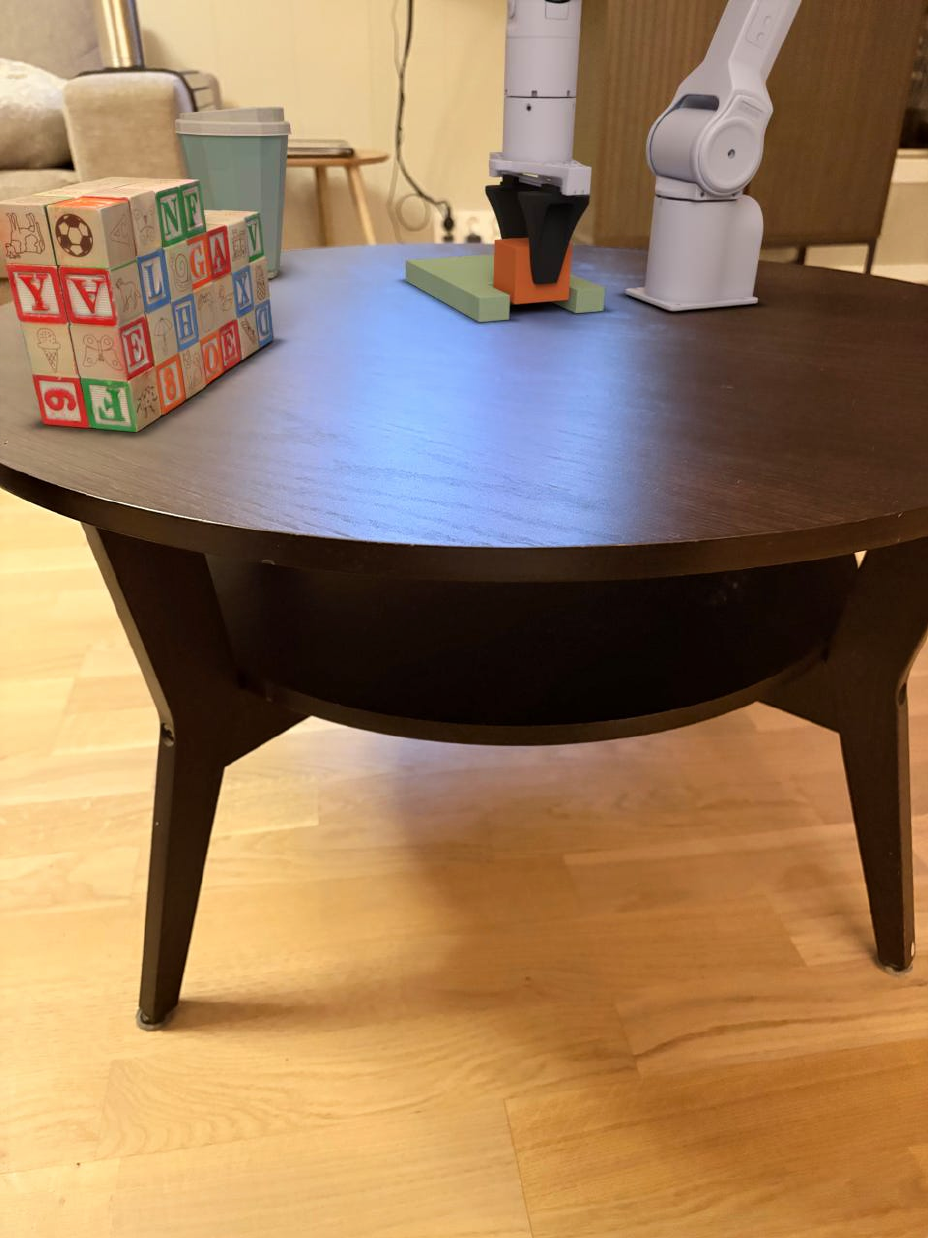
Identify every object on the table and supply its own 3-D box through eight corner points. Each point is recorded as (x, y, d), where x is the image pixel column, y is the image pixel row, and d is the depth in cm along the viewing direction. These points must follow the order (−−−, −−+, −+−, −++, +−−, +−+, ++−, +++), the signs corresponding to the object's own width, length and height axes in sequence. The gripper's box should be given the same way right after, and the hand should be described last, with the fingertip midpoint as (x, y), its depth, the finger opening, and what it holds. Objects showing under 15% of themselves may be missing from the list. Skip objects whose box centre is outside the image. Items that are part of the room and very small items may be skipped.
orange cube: (545, 289, 84) (548, 236, 81) (568, 299, 80) (572, 244, 78) (492, 293, 82) (494, 239, 80) (514, 304, 78) (516, 247, 76)
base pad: (515, 273, 96) (516, 252, 95) (603, 310, 82) (605, 287, 81) (405, 281, 92) (405, 259, 91) (479, 322, 78) (479, 297, 77)
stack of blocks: (200, 335, 73) (177, 161, 66) (275, 341, 72) (259, 164, 65) (40, 425, 55) (-12, 198, 48) (138, 433, 54) (97, 202, 47)
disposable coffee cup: (171, 280, 91) (145, 105, 83) (231, 262, 99) (213, 101, 92) (266, 290, 88) (249, 108, 80) (320, 269, 96) (309, 104, 88)
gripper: (457, 93, 78) (456, 265, 85) (536, 100, 66) (527, 297, 73) (533, 93, 80) (526, 260, 87) (621, 100, 69) (605, 291, 76)
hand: (531, 277), depth 80 cm, fingers closed on orange cube, 4 cm apart
